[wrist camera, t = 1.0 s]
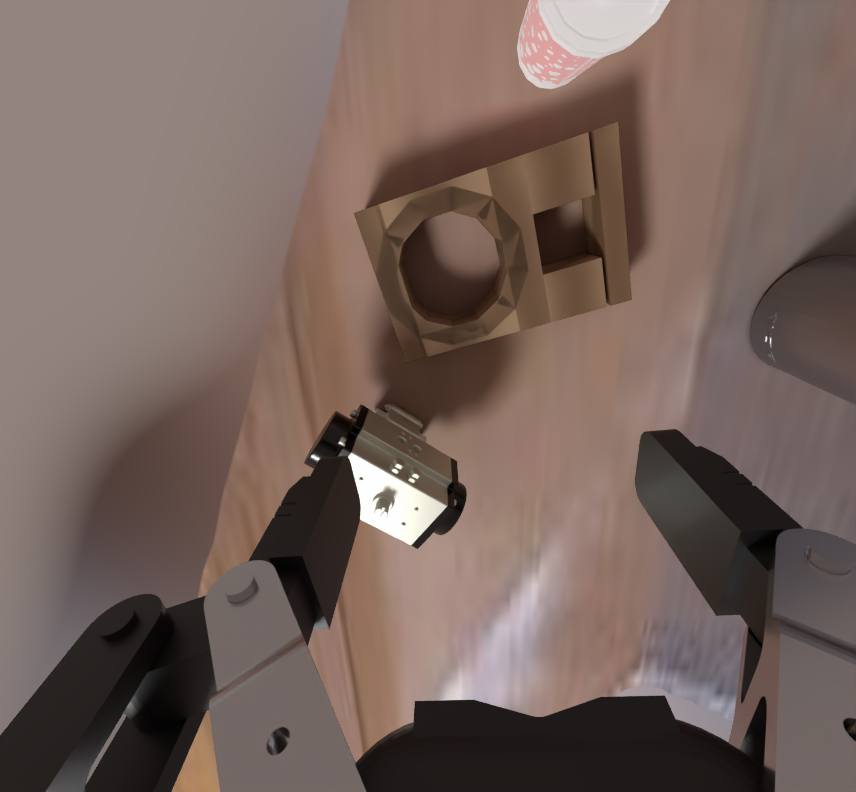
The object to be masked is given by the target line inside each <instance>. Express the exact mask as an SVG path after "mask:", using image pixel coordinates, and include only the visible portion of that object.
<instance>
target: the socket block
mask: <svg viewBox="0 0 856 792" xmlns="http://www.w3.org/2000/svg"><path fill="white" fill-rule="evenodd" d="M579 199H582V206H583V215H584V223H585V231H586V240H587V248H588V254H587V253H581V254H578V255H575V256H571V257H568V258H565V259H561V260H558V261H555V262H551V263H548V264H545V265H541V260H540V254H539V248H538V242H537V236H536V230H535V225H534V219H533V214H536V213H539V212H542V211H545V210H548V209H551V208H554V207H558V206H561V205H564V204H567V203H570V202H573V201H576V200H579ZM450 211H452V212H456V213H459V214H463V215H467V216H471V217H475V218H477V219H478V220H479V221H480V223H481V224H482V225H483V226H484V227H485V228H486V229H487V230H488V231H489V232H490V233H491V235H492V236H493V237H494V238H495V242H496V247H497V252H498V256H499V261H500V267H499V270H498V273H497V277H496V280H495V283H494V287H493V290H492V291H491V292H490V293H489V294H488V295H487V296H486V297H485V298H484V299H483V300H482V301H481V302H480V303H479V304H478V305H477V306H476V307H475V308H474V309H470V310H467V311H464V312H460V313H457V314H453V315H447V314H443V313H439V312H435V311H430V310H427V309H426V308H425V307H424V306H423V305H421V304H420V303H419V302H418V301H417V300H416V299H415V298H414V295H413V292H412V289H411V286H410V283H409V279H408V276H407V273H406V270H405V267H404V264H403V260H402V259H403V254H404V248H405V243H406V240H407V239H408V238H409V237H410V235H411V234H412V233H413V232H414V231H415V230H416V228H417V227H418V226H419V225H420V224H421V223H422V221H423V220H426V219H429V218H432V217H435V216H438V215H441V214H444V213H447V212H450ZM354 215H355V218H356V221H357V223H358V226H359V229H360V232H361V235H362V238H363V241H364V244H365V246H366V249H367V252H368V255H369V258H370V261H371V264H372V267H373V269H374V272H375V275H376V278H377V281H378V284H379V287H380V290H381V292H382V295H383V298H384V301H385V304H386V307H387V310H388V313H389V315H390V318H391V321H392V324H393V327H394V330H395V333H396V336H397V338H398V341H399V344H400V347H401V350H402V353H403V356H404V359H405V361H406V363H408V362H411V361H415V360H418V359H422V358H425V357H429V356H433V355H436V354H440V353H443V352H447V351H450V350H454V349H458V348H461V347H465V346H468V345H472V344H475V343H479V342H483V341H486V340H490V339H493V338H497V337H500V336H504V335H508V334H511V333H515V332H518V331H522V330H525V329H529V328H533V327H536V326H540V325H543V324H547V323H550V322H554V321H558V320H561V319H565V318H568V317H572V316H575V315H579V314H583V313H586V312H590V311H593V310H597V309H600V308H604V307H607V305H606V303H607V304H609V305H615V304H618V303H622V302H625V301H629V300H632V296H631V283H630V270H629V257H628V244H627V231H626V218H625V205H624V192H623V179H622V166H621V153H620V140H619V127H618V122H616V123H613V124H610V125H607V126H604V127H601V128H598V129H596V130H593V131H591V132H589V133H588V132H587V133H584V134H581V135H578V136H575V137H572V138H569V139H567V140H564V141H561V142H558V143H555V144H552V145H549V146H546V147H543V148H541V149H538V150H535V151H532V152H529V153H526V154H523V155H520V156H517V157H515V158H512V159H509V160H506V161H503V162H500V163H497V164H494V165H491V166H489V167H486V168H483V169H480V170H477V171H474V172H471V173H468V174H465V175H462V176H460V177H457V178H454V179H451V180H448V181H445V182H442V183H439V184H436V185H434V186H431V187H428V188H425V189H422V190H419V191H416V192H413V193H410V194H408V195H405V196H402V197H399V198H396V199H393V200H390V201H387V202H384V203H381V204H379V205H376V206H373V207H370V208H367V209H364V210H361V211H358V212H355V213H354Z"/></svg>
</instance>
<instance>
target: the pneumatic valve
mask: <svg viewBox="0 0 856 792" xmlns="http://www.w3.org/2000/svg"><path fill="white" fill-rule="evenodd" d="M384 407H385V409H386V410H387V412H386V413H385V412H383V411H382V410H380V409H378V408H377V409H376V410H375V411H374V412H373V411H371V410H370V409H368V408H366V407H365V406H363V405H360V406H359V408H358V409H357V411H355V410H353V411H352V412H351V414H350V416H351V417H352V418H351V419H349V418H348V417H346V416H344V415H342V414H341V413H339V412H337V411H336V412H334V414H333V415H332V416H331V418H330V419H329V421H328V422H327V424H326V425H325V427H324V428H323V430H322V432H321V433H320V435H319V436H318V438H317V440H316V441H315V443H314V445H313V446H312V448H311V450H310V452H309V453H308V455H307V457H306V459H305V462H304V463H305V464H306V465H308V466H310V467H312V468H315V466H316V464H317V462H318V461H319V459H320V458H325V457H337V456H348V458H349V459H350V462H351V466H352V470H353V474H354V477H355V481H356V485H357V489H358V493H359V497H360V503H361V516H360V519H361V520H362V521H364V522H366V523H368V524H370V525H372V526H374V527H376V528H378V529H380V530H382V531H384V532H386V533H388V534H390V535H392V536H394V537H396V538H397V539H399V540H401V541H403V542H405V543H407V544H409V545H411V546H413V547H415V548H417V549H418V548H419V547H420V546H421V545H422V544H423V543H424V542H425V541H426V540H427V539H428V538H429V537H430V535H431V534H432V533H433V532H434V533H436V534H438V535H443V534H445V533H447V532H448V531H450V530H451V529H452V527H453V526H454V525H455V524H456V522H457V521H458V519H459V517H460V515H461V513H462V511H463V509H464V506H465V502H466V496H467V492H466V488H465V486H464V485H463V484H461V483H460V482H458V470H457V461H456V460H454V459H452V458H451V457H449V456H447V455H446V454H444V453H442V452H440V451H439V450H437V449H435V448H434V447H432V446H430V445H429V444H427V443H426V437H425V436H423V435H422V434H420V433H419V432H420V429H421V428H422V426H423V424H421V420H419V419H418V418H416V417H414V416H413V415H411V414H409V413H408V412H406V411H404V410H403V409H401V408H399V407H398V406H396V405H395V404H392V405H390V404H385V406H384Z"/></svg>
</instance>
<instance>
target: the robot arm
mask: <svg viewBox="0 0 856 792" xmlns="http://www.w3.org/2000/svg"><path fill="white" fill-rule="evenodd" d="M750 339H751V344H752V347H753V350H754V352H755V353H756V354H757V356H758V357H759V358H760V359H761V360H762V361H764V362H765V363H767V364H768V365H771V366H773V367H775V368H777V369H779V370H781V371H784V372H786V373H788V374H790V375H792V376H794V377H797V378H799V379H801V380H803V381H805V382H807V383H809V384H811V385H813V386H816V387H818V388H820V389H822V390H824V391H826V392H829V393H831V394H833V395H835V396H837V397H839V398H842V399H844V400H846V401H848V402H850V403H852V404H855V405H856V257H854V256H845V255H833V256H824V257H821V258H817V259H813V260H810V261H808V262H806V263H804V264H802V265H799V266H798V267H796V268H794V269H793V270H791V271H790V272H788V273H787V274H785V275H784V276H783V277H782V278H781V279H779V280H778V281H777V282H776V283H775V284H774V285H773V286H772V287H771V288H770V289H769V291H768V292H767V293H766V294H765V295H764V297H763V298H762V300H761V302H760V303H759V305H758V307H757V308H756V311H755V313H754V316H753V319H752V323H751V328H750ZM635 486H636V492H637V495H638V498H639V500H640V502H641V504H642V505H643V507H644V508H645V510H646V511H647V513H648V514H649V516H650V517H651V519H652V520H653V522H654V523H655V525H656V526H657V528H658V529H659V531H660V532H661V534H662V535H663V537H664V538H665V540H666V541H667V543H668V544H669V546H670V547H671V549H672V550H673V552H674V553H675V555H676V556H677V558H678V559H679V561H680V562H681V564H682V565H683V567H684V568H685V570H686V571H687V573H688V574H689V576H690V577H691V578H692V580H693V581H694V583H695V584H696V586H697V587H698V589H699V590H700V592H701V593H702V595H703V596H704V598H705V599H706V601H707V602H708V604H709V605H710V607H711V608H712V610H713V611H714V613H715V614H716V616H718V615H741V617H742V618H743V620H744V621H745V622H746V624H747V626H746V629H745V632H744V636H743V645H742V654H741V663H740V672H739V680H738V689H737V698H736V707H735V715H734V721H733V726H732V730H731V734H730V738H729V742H726V741H725V740H723V739H721V738H719V737H717V736H715V735H713V734H711V733H709V732H707V731H705V730H703V729H701V728H699V727H696V726H694V725H691V724H689V723H686V722H683V721H680V720H676V719H675V717H674V715H673V713H672V711H671V708H670V706H669V704H668V702H667V700H666V697H665V696H628V697H600V698H597V699H594V700H591V701H588V702H585V703H582V704H580V705H577V706H574V707H571V708H568V709H565V710H562V711H559V712H557V713H554V714H551V715H548V716H545V717H534V716H530V715H526V714H522V713H519V712H515V711H512V710H508V709H505V708H501V707H497V706H494V705H490V704H487V703H483V702H479V701H476V700H447V701H415V709H414V722H413V723H410V724H407V725H405V726H403V727H401V728H399V729H397V730H395V731H393V732H391V733H390V734H388V735H387V736H385V737H384V738H382V739H381V740H380V741H378V742H377V743H376V744H375V745H373V746H372V747H371V748H370V749H369V750H368V751H367V752H366V753H364V755H363V756H362V757H361V758H360V759H359V760H358V761H357V762H356V763H355V761H354V758H353V756H352V754H351V751H350V749H349V746H348V744H347V741H346V739H345V737H344V734H343V732H342V729H341V727H340V724H339V722H338V720H337V717H336V715H335V712H334V710H333V707H332V705H331V702H330V700H329V698H328V695H327V693H326V690H325V688H324V685H323V683H322V681H321V678H320V676H319V673H318V671H317V668H316V666H315V663H314V661H313V659H312V656H311V654H310V651H309V649H308V643H309V640H310V637H311V633H312V630H327V629H329V628H330V625H331V621H332V618H333V614H334V611H335V607H336V603H337V600H338V596H339V593H340V589H341V586H342V582H343V578H344V575H345V571H346V568H347V564H348V561H349V557H350V554H351V550H352V546H353V543H354V539H355V536H356V532H357V529H358V525H359V521H360V516H361V503H360V497H359V493H358V489H357V485H356V481H355V477H354V474H353V470H352V466H351V462H350V459H349V458H348V456H337V457H325V458H320V459H319V461H318V462H317V464H316V466H315V468H314V470H313V472H312V474H311V476H308V477H302V478H301V479H300V480H299V481H298V482H297V483H296V484H295V485H293V486H292V487H291V488H290V489H289V490H288V492H287V494H286V496H285V497H284V499H283V501H282V503H281V506H279V508H278V510H277V512H276V513H275V518H273V519H272V520H271V522H270V524H269V526H268V527H267V529H266V531H265V533H264V535H263V536H262V538H261V540H260V542H259V543H258V545H257V547H256V549H255V550H254V552H253V554H252V556H251V557H250V559H249V561H248V562H245V563H242V564H240V565H238V566H235V567H234V568H232V569H230V570H229V571H227V572H226V573H224V574H223V575H222V576H221V577H220V578H218V579H217V581H216V582H215V583H214V584H213V585H212V586H211V588H210V589H209V591H208V593H207V595H206V596H203V597H200V598H197V599H195V600H191V601H188V602H185V603H182V604H180V605H176V606H173V607H170V608H167V609H166V608H165V606H164V605H163V603H162V601H161V600H160V598H159V597H158V596H156V595H152V594H142V595H137V596H134V597H131V598H128V599H126V600H124V601H122V602H120V603H118V604H116V605H114V606H113V607H111V608H110V609H108V610H107V611H105V612H104V613H103V614H101V615H100V616H99V617H98V618H97V619H96V620H95V621H94V622H92V623H91V624H90V626H89V627H88V628H87V629H86V630H85V631H84V633H83V634H82V635H81V636H80V638H79V639H78V640H77V641H76V643H75V644H74V645H73V646H72V647H71V649H70V650H69V651H68V652H67V654H66V655H65V656H64V657H63V659H62V660H61V661H60V662H59V664H58V665H57V666H56V667H55V668H54V670H53V671H52V672H51V673H50V675H49V676H48V677H47V678H46V680H45V681H44V682H43V683H42V685H41V686H40V687H39V688H38V690H37V691H36V692H35V693H34V695H33V696H32V697H31V698H30V699H29V701H28V702H27V703H26V704H25V706H24V707H23V708H22V709H21V711H20V712H19V713H18V714H17V715H16V717H15V718H14V719H13V721H12V722H11V723H10V724H9V725H8V727H7V728H6V729H5V730H4V732H3V733H2V734H1V735H0V792H171V791H172V789H173V786H174V784H175V782H176V780H177V777H178V775H179V773H180V770H181V768H182V766H183V763H184V761H185V759H186V756H187V754H188V752H189V749H190V747H191V745H192V743H193V740H194V738H195V736H196V733H197V731H198V729H199V726H200V724H201V722H202V719H203V717H204V715H205V713H206V711H207V710H209V712H210V720H211V727H212V734H213V742H214V749H215V756H216V763H217V771H218V778H219V785H220V792H856V545H855V544H853V543H851V542H849V541H847V540H845V539H843V538H840V537H838V536H835V535H832V534H829V533H826V532H822V531H818V530H812V529H804V528H802V527H801V526H800V525H799V524H798V523H797V522H796V521H795V520H793V519H792V518H791V517H790V516H789V515H788V514H787V513H786V512H784V511H783V510H782V509H781V508H780V507H779V506H778V505H776V504H775V503H774V502H773V501H772V500H771V499H770V498H769V497H767V496H766V495H765V494H764V493H763V492H762V491H761V490H760V489H758V488H757V487H756V486H753V485H752V482H751V481H749V480H748V479H747V478H746V477H745V476H744V475H743V474H739V471H738V470H737V469H736V468H735V467H734V466H732V465H731V464H730V463H729V462H728V461H727V460H726V459H725V458H723V457H722V456H720V455H718V454H716V453H714V452H712V451H710V450H708V449H706V448H704V447H702V446H700V447H696V446H695V445H694V444H692V443H691V442H690V441H689V440H688V439H687V438H686V437H685V436H684V435H683V434H682V433H681V432H680V431H678V430H676V429H671V430H659V431H647V432H644V433H643V434H642V435H641V438H640V444H639V452H638V460H637V468H636V476H635ZM123 713H125V714H126V718H125V720H124V721H123V723H122V725H121V726H120V728H119V730H118V732H117V733H116V735H115V737H114V738H113V740H112V742H111V744H110V745H109V747H108V749H107V750H106V752H105V754H104V755H103V757H102V759H101V761H100V762H99V764H98V766H97V767H96V769H95V771H94V773H93V774H92V776H91V778H90V779H89V781H88V783H87V784H86V780H87V777H88V774H89V771H90V769H91V767H92V765H93V763H94V761H95V759H96V758H97V756H98V754H99V753H100V751H101V749H102V748H103V746H104V744H105V743H106V741H107V739H108V737H109V736H110V734H111V733H112V731H113V729H114V728H115V726H116V724H117V722H118V721H119V719H120V718H121V716H122V714H123Z"/></svg>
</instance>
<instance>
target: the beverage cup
mask: <svg viewBox="0 0 856 792" xmlns="http://www.w3.org/2000/svg"><path fill="white" fill-rule="evenodd" d="M669 1H670V0H529V2H528V6H527V9H526V12H525V15H524V19H523V22H522V25H521V28H520V33H519V39H518V46H517V51H518V58H519V64H520V67H521V69H522V71H523V72H524V74H525V76H526V78H527V79H528V80H529V81H531V82H532V83H533V84H535V85H536V86H537V87H540V88H548V89H554V88H557V87H559V86H562V85H565V84H567V83H568V82H570V81H571V80H572V79H574V78H575V77H577V76H578V75H579V74H581V73H582V72H584V71H585V70H586V69H588V68H589V67H591V66H592V65H593V64H595V63H596V62H597V61H599V60H600V59H602V58H603V57H604V56H607V55H610V54H613V53H615V52H618V51H621V50H624V49H625V48H626V47H627V46H630V45H631V44H632V43H633V42H634V41H635V40H636V39H638V38H639V37H640V36H641V35H642V34H643V33H644V32H645V31H647V30H648V29H649V28H650V27H651V26H652V25H653V24H655V23H656V22H657V21H658V19H659V17H660V16H661V14H662V12H663V11H664V9H665V7H666V6H667V4H668V2H669Z"/></svg>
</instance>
